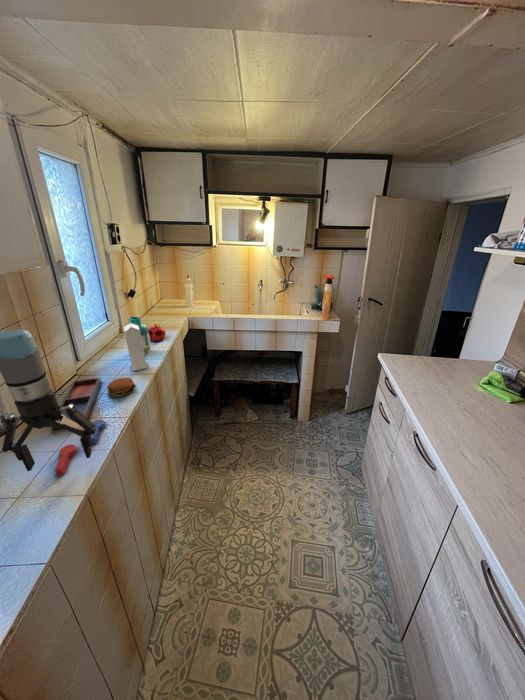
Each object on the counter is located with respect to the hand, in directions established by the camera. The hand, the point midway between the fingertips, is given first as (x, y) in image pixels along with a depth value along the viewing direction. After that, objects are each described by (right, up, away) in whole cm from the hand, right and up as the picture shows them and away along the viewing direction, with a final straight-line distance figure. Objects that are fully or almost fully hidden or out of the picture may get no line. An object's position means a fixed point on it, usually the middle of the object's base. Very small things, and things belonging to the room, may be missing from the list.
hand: (61, 460), depth 76 cm
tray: (-13, +10, +28) cm, 33 cm away
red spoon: (-1, -1, +3) cm, 4 cm away
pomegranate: (-6, +36, +85) cm, 92 cm away
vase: (-8, +28, +68) cm, 73 cm away
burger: (-1, +13, +36) cm, 38 cm away
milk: (-3, +22, +55) cm, 59 cm away
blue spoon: (+1, +3, +14) cm, 14 cm away
